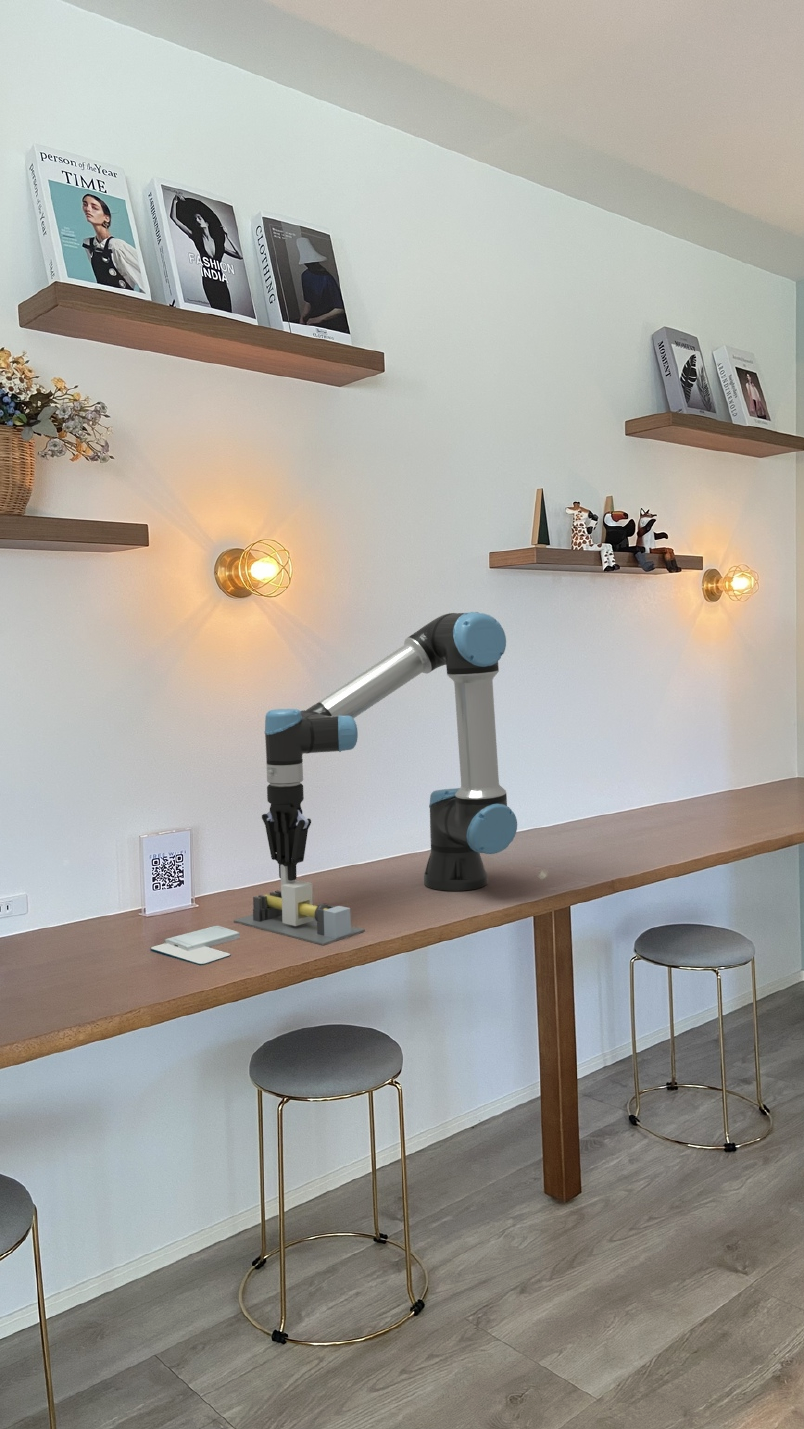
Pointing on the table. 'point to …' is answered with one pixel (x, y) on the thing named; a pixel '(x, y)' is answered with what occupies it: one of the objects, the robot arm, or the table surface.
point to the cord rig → (322, 930)
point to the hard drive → (203, 938)
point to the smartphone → (191, 953)
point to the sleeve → (295, 902)
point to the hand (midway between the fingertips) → (288, 894)
